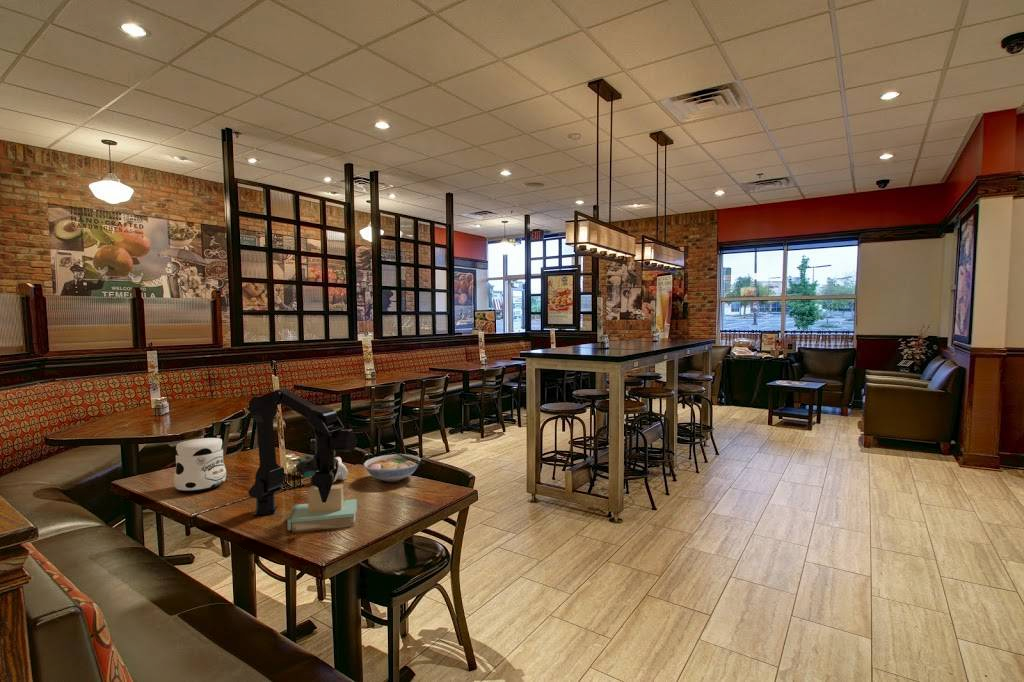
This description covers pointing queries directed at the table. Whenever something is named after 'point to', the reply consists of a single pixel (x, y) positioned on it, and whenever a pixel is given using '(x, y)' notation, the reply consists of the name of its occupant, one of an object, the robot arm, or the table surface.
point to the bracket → (309, 473)
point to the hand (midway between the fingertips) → (326, 497)
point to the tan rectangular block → (333, 500)
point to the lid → (320, 513)
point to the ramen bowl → (392, 466)
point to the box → (324, 523)
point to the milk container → (199, 465)
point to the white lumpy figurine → (340, 470)
